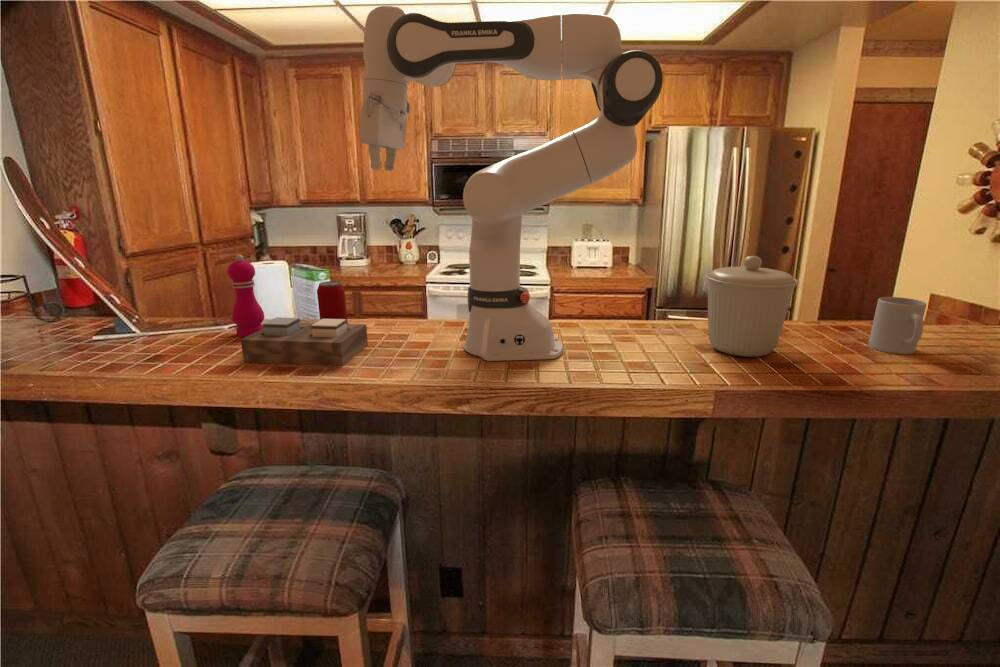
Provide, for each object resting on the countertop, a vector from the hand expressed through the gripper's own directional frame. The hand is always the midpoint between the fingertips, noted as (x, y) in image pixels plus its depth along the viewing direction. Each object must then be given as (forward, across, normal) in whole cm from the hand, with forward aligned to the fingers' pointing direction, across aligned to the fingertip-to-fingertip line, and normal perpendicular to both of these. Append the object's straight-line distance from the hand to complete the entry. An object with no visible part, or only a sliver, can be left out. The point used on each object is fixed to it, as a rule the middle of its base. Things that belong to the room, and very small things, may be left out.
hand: (382, 170), depth 106 cm
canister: (+31, 0, -82) cm, 88 cm away
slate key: (+39, -7, +19) cm, 44 cm away
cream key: (+38, -8, +8) cm, 39 cm away
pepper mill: (+43, +7, +35) cm, 56 cm away
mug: (+27, +2, -116) cm, 120 cm away
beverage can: (+41, +13, +16) cm, 46 cm away
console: (+40, -7, +13) cm, 43 cm away
